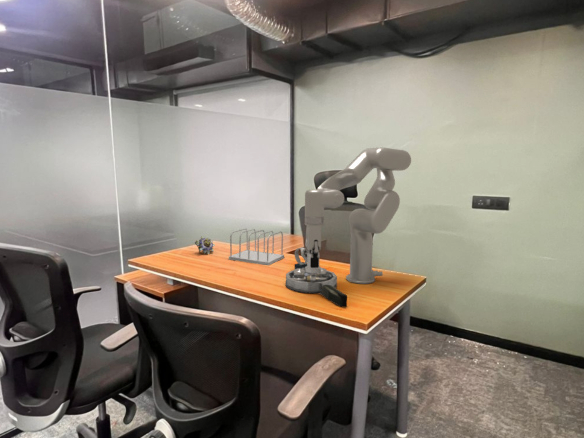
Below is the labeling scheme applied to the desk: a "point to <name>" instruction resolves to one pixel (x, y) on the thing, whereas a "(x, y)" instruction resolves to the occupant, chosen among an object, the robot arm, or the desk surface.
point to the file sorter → (256, 255)
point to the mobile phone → (334, 295)
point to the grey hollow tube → (308, 268)
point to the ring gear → (310, 285)
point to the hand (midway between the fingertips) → (313, 265)
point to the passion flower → (205, 245)
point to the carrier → (309, 279)
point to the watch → (303, 254)
